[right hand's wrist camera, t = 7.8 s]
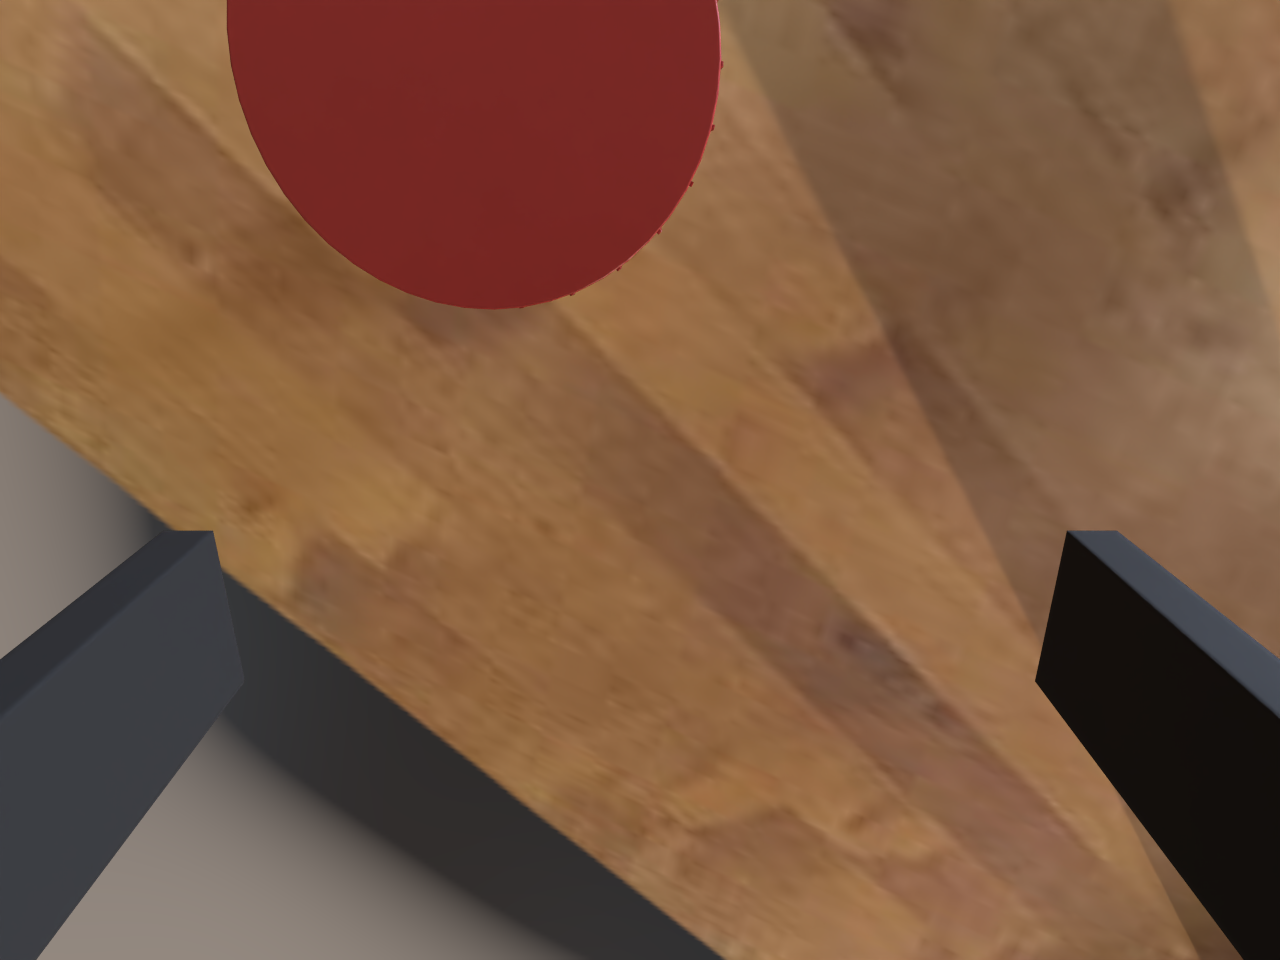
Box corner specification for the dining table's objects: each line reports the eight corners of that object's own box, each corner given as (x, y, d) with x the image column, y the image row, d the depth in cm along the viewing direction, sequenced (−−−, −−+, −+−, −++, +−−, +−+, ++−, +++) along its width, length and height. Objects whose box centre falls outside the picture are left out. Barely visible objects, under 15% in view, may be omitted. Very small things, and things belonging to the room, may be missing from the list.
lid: (751, -170, 17) (764, -210, 15) (682, 322, 21) (685, 338, 19) (255, -242, 17) (205, -292, 15) (276, 272, 21) (238, 283, 19)
